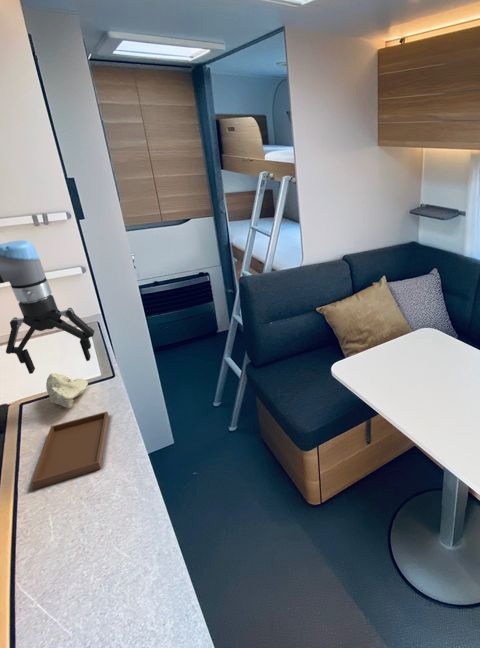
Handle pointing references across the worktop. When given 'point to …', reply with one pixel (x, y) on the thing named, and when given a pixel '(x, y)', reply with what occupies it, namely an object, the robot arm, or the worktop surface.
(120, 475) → the worktop surface
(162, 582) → the worktop surface
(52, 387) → the cheese
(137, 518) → the worktop surface
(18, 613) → the worktop surface
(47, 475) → the holder
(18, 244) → the robot arm
